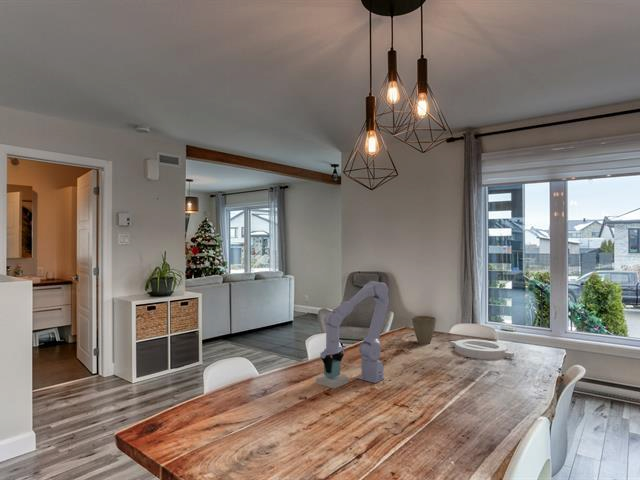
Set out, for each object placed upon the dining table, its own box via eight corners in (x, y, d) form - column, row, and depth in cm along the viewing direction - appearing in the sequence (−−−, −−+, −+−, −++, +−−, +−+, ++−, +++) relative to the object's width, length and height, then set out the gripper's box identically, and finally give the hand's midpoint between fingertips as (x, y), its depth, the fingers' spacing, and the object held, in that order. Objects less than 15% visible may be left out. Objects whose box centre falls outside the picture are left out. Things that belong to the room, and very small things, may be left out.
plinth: (348, 382, 173) (348, 376, 173) (334, 388, 165) (334, 382, 166) (330, 377, 180) (330, 372, 180) (316, 383, 172) (316, 377, 172)
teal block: (340, 374, 173) (340, 361, 173) (332, 377, 169) (333, 363, 169) (331, 372, 176) (331, 359, 176) (323, 375, 172) (324, 361, 173)
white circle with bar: (449, 346, 242) (449, 338, 242) (495, 347, 241) (495, 339, 241) (463, 359, 214) (463, 350, 214) (516, 360, 213) (516, 351, 213)
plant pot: (421, 339, 260) (421, 314, 260) (440, 343, 249) (440, 318, 249) (406, 342, 251) (407, 317, 251) (426, 346, 239) (426, 320, 240)
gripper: (335, 336, 181) (335, 365, 181) (315, 341, 170) (314, 373, 170) (348, 338, 177) (347, 368, 176) (327, 344, 165) (327, 376, 165)
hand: (332, 371), depth 173 cm, fingers closed on teal block, 5 cm apart
